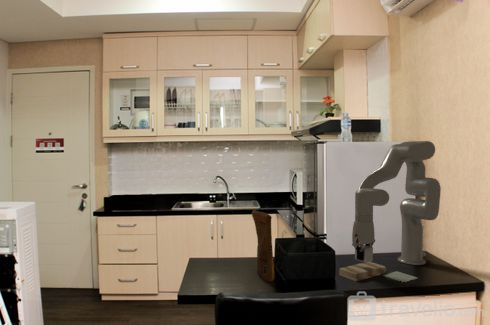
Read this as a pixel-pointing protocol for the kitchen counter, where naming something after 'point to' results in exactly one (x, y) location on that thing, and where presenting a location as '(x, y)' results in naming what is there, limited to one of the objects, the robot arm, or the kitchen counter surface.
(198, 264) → the kitchen counter surface
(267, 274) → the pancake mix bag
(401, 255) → the robot arm
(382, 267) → the tan flat block
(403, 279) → the sage mat
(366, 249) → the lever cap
